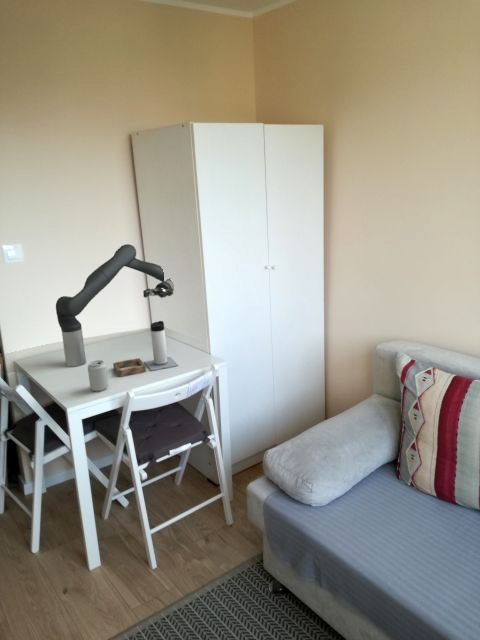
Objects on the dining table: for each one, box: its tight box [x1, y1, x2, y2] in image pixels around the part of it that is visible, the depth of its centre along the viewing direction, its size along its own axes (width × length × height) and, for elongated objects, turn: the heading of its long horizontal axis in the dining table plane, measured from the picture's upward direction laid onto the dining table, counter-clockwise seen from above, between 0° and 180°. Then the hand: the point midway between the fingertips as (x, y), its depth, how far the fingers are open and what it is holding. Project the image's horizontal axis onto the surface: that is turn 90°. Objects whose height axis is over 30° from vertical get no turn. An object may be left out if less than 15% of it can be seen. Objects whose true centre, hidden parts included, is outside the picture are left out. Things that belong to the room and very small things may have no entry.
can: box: [87, 359, 109, 392], centre depth 215 cm, size 8×8×12 cm
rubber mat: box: [143, 356, 179, 372], centre depth 242 cm, size 13×13×1 cm
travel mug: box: [150, 320, 168, 366], centre depth 239 cm, size 6×7×20 cm
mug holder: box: [112, 357, 147, 378], centre depth 235 cm, size 12×12×3 cm
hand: (152, 295), depth 248 cm, fingers open, 8 cm apart
